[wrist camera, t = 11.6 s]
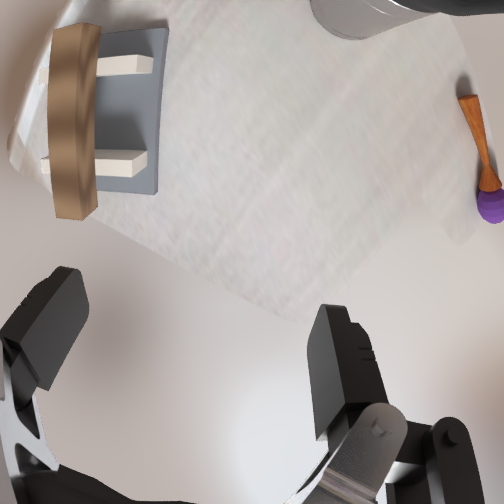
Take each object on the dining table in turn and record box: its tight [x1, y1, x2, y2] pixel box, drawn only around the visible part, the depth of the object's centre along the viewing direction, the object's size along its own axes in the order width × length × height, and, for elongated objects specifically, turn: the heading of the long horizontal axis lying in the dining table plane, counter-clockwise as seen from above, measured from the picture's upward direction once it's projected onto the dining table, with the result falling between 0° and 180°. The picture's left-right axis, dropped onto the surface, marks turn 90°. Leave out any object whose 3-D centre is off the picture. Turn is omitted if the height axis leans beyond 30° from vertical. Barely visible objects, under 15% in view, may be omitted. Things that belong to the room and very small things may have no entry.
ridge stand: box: [39, 28, 169, 195], centre depth 30 cm, size 22×16×6 cm
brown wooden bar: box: [47, 22, 102, 221], centre depth 26 cm, size 22×4×4 cm, turn 173°
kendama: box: [458, 95, 504, 224], centre depth 32 cm, size 6×6×20 cm
